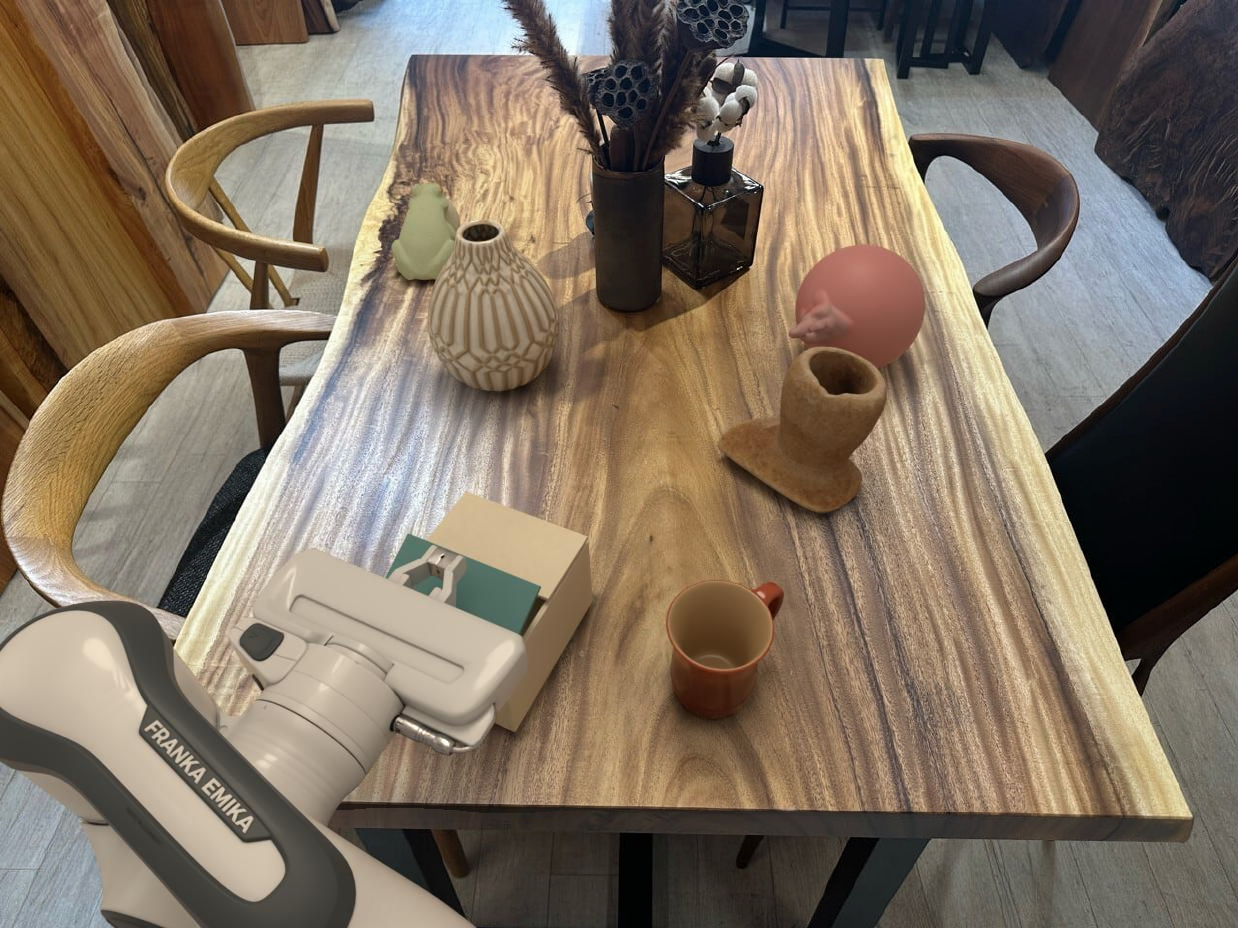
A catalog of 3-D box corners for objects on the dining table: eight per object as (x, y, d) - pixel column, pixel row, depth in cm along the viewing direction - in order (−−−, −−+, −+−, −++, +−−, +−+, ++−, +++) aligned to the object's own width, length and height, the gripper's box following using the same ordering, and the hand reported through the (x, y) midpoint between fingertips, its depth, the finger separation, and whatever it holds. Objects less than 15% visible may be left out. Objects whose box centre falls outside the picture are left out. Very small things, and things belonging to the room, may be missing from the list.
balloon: (736, 361, 105) (748, 258, 94) (846, 309, 112) (869, 208, 101) (819, 428, 96) (844, 323, 85) (932, 367, 104) (969, 263, 92)
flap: (502, 673, 63) (500, 672, 62) (368, 614, 67) (366, 613, 66) (541, 586, 65) (540, 585, 65) (409, 534, 69) (407, 532, 68)
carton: (515, 732, 70) (501, 673, 62) (392, 675, 74) (366, 612, 66) (592, 601, 79) (588, 535, 72) (480, 556, 83) (465, 490, 76)
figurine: (475, 227, 129) (465, 167, 121) (459, 286, 117) (448, 224, 110) (412, 227, 129) (399, 167, 122) (390, 286, 118) (374, 224, 110)
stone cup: (884, 477, 90) (919, 373, 80) (817, 533, 85) (845, 430, 74) (779, 410, 98) (798, 308, 87) (712, 457, 93) (723, 354, 82)
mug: (709, 751, 69) (719, 693, 61) (642, 680, 73) (644, 618, 66) (803, 670, 74) (823, 607, 66) (735, 608, 79) (746, 543, 71)
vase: (571, 402, 100) (560, 261, 85) (441, 419, 98) (408, 278, 83) (554, 326, 110) (542, 189, 96) (437, 340, 109) (407, 203, 94)
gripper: (460, 745, 49) (565, 577, 58) (209, 624, 55) (338, 488, 64) (474, 786, 54) (570, 625, 63) (240, 670, 60) (357, 538, 69)
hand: (450, 555), depth 63 cm, fingers closed
